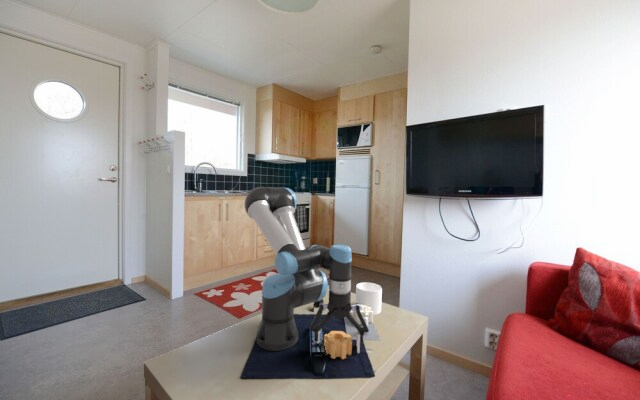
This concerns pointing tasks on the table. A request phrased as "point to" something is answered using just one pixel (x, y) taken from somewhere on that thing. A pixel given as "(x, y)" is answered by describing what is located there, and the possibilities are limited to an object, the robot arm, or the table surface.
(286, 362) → the table surface
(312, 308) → the black boxy piece
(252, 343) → the table surface
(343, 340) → the gear
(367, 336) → the gear board
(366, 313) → the gear
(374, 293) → the cup
